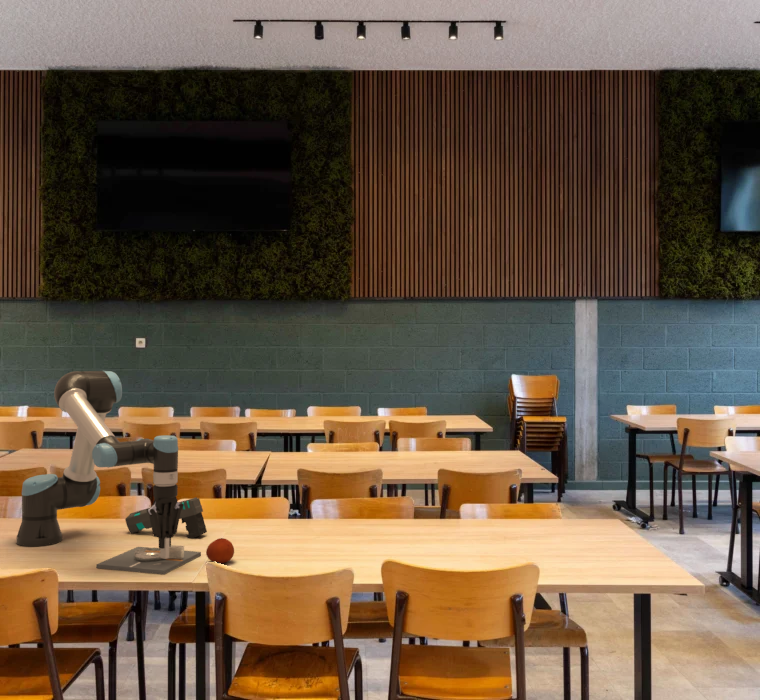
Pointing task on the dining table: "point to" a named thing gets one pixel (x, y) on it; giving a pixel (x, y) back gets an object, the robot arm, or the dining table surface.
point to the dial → (158, 553)
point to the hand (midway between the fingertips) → (164, 557)
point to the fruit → (220, 550)
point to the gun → (188, 514)
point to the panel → (156, 567)
